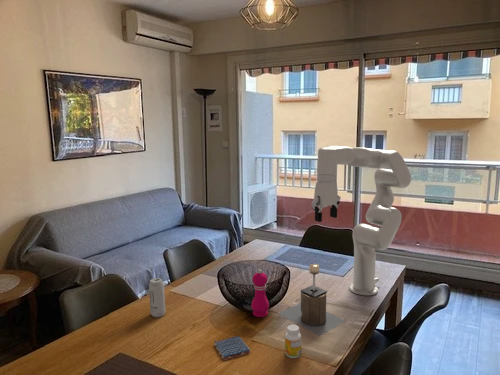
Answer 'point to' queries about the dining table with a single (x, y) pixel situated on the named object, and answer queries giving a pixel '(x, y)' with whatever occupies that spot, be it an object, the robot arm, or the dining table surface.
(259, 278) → the pepper mill
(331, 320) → the slate board
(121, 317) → the dining table surface
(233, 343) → the woven mat
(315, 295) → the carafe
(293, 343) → the supplement bottle
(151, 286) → the energy drink can
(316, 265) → the plunger
